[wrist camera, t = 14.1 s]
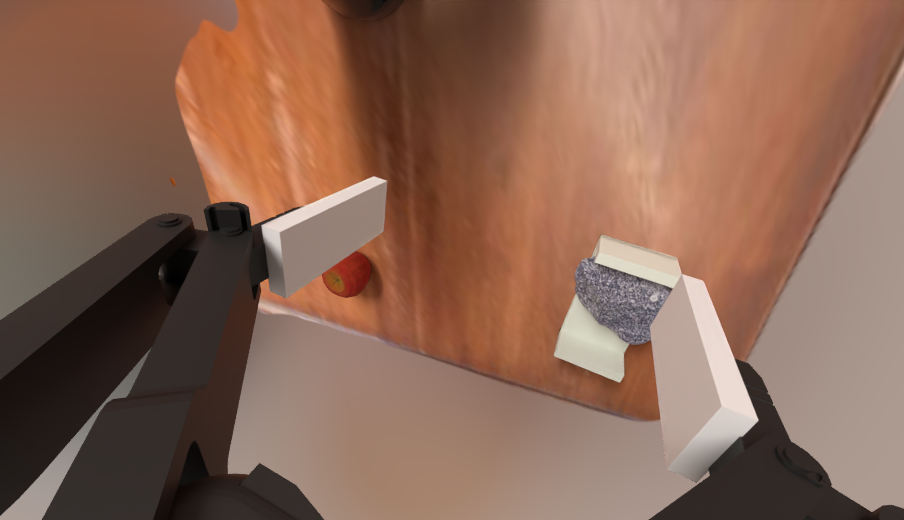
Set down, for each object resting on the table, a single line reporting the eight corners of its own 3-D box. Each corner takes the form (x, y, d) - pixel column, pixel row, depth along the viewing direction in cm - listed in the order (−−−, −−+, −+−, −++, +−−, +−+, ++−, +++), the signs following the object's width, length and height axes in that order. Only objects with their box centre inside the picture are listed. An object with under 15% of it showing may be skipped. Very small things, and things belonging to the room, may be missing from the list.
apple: (366, 238, 61) (337, 257, 55) (386, 277, 63) (360, 301, 57) (335, 248, 65) (305, 267, 59) (355, 285, 67) (328, 308, 61)
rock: (691, 292, 39) (649, 362, 43) (684, 275, 44) (647, 339, 48) (584, 253, 43) (554, 321, 47) (587, 241, 47) (560, 304, 51)
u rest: (559, 332, 54) (553, 355, 50) (601, 234, 46) (599, 252, 41) (619, 355, 52) (619, 382, 48) (676, 257, 43) (683, 279, 39)
